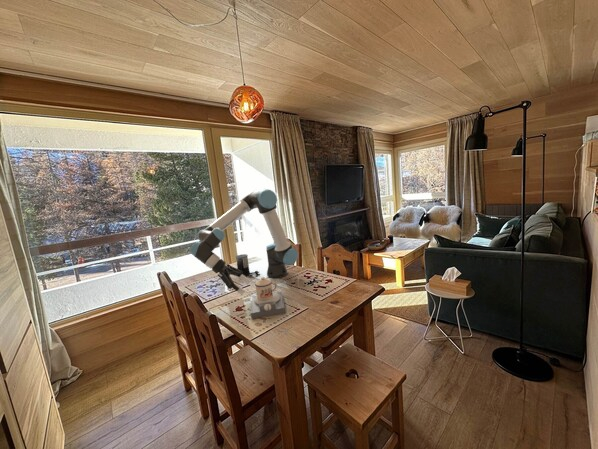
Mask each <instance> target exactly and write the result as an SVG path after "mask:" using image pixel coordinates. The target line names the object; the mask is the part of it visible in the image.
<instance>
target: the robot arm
mask: <svg viewBox="0 0 598 449" xmlns="http://www.w3.org/2000/svg"><path fill="white" fill-rule="evenodd" d="M238 201H239V202H238V203H236V204H235V205H234V206H233V207H232V208H231V209H229V210H227V212H225V213H224V214H223V215H221V216H220V217H219V218H217V219H216V220H214V221H213V223H211V224H209V225H208V226H207V227H205V229H201V230H199V231H198V233H197V235H196V236H197V240H199V241H195V242H194V243H193V244H192V245H191V246H190V248H189V253H190V254H191V255H192V256H194V258H196V259H197V260H198V261H200V262H201V263H203V264H204V265H205V266H206V267H207V268H209V269H211V270H212V271H213V272H214V273H215V274H217V277H219V278H220V280H221V281H222V282H223V283H224V285H225V286H226V288H228V289H230V290H231V289H232V290H234V291H235V292H237V293H238V294H239V295H240V296H243V295H244V294H245V292H246V290H245V289H243V287H241V286H240V285H238V284H237V283H235V282H234V281H233V278H232V277H231V276H235V277H238V278H239V280H241V281H242V282H243V283H245V284H246V285H247V286H248V285H249V284H250V283H251V280H250V279H249V278H248V277H247V276H244V275H243V274H242V273H243V272H242V271H240V270H238V269H237V267H234V266H232V265H230V264H229V263H227V264H226V261H225V260H224V259H223V258H221V257H220V256H219V255H217V254H216V253H215V252H213V251H214V250H215V249H216V248H217V247H218V245H220V244H221V242H223V240H224V239H225V237H226V234H225V232H224V231H225V230H226V229H227V228H229V226H231V225H232V224H233V223H235V222H236V221H237V220H238V219H240V218H241V217H242V216H244V214H246V213H250V212H251V211H252V210H254V209H258V212H259V214H261V215H263V218H264V221H265V223H266V226H267V227H268V231H269V233H270V235H271V238H272V240H273V242H274V243H270V244H268V245H267V246H266V248H265V249H266V256H267V263H268V266H267V270H266V276H267V277H268V278H269V279H278V278H283V277H286V276H287V275H288V269H287V266H292V265H294V264H296V262H297V260H298V258H299V253H298V250H297V249H296V248H294V247H293V245H292V243H291V242H290V241H288V238H287V236H286V233H285V231H284V229H283V225H282V222H281V221H280V218H279V216H278V213H277V210H276V209H277V203H278V202H277V201H278V198H277V195H276V193H275V192H274V191H273V190H272V189H268V188H263V189H254V190H251V191H249V193H247V194H246V195H244V196H243V197H242V198H240V199H239V200H238Z"/></svg>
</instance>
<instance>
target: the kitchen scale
mask: <svg viewBox="0 0 598 449" xmlns="http://www.w3.org/2000/svg"><path fill="white" fill-rule="evenodd" d="M251 298H252V299H251V307H250V308H251V309H250V316H251V318H250V319H252V318H253V319H257V318H258V317H259V318H265V317H270V316H277V315H283V314H286V307H285V302H284V296H283V291H278V292H274V291H273V297H272V298H271V299H270V300H267V301H259V300H258V299H257V295H253V296H252V297H251Z"/></svg>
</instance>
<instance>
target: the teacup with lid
mask: <svg viewBox="0 0 598 449" xmlns="http://www.w3.org/2000/svg"><path fill="white" fill-rule="evenodd" d="M254 285H255V290H256V291H255V292H256V296H257V299H258V300H259V301H267V300H270V299H271V298H272V297H273V292H274V291H276V290H277V286H278V285H277V283H276V282H275V281H274V282H272V280H271V278H266V277H264V276H262V277H261V278H260V279H259V280H257V281H255V283H254ZM272 285H274V288H273V286H272Z"/></svg>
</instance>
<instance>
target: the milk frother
mask: <svg viewBox="0 0 598 449" xmlns="http://www.w3.org/2000/svg"><path fill="white" fill-rule="evenodd" d="M248 257H249V256H248V254H239V255H236V256H235V261H236V269H238V270H240V271H242V272H243V273H242V274H243V275H244V276H245V277H247V276H249V275H252V274H254V275H258V274H259V273H260V271H258V270H255V271H254V272H253V271H252V272H250V267H249V259H248Z"/></svg>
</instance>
